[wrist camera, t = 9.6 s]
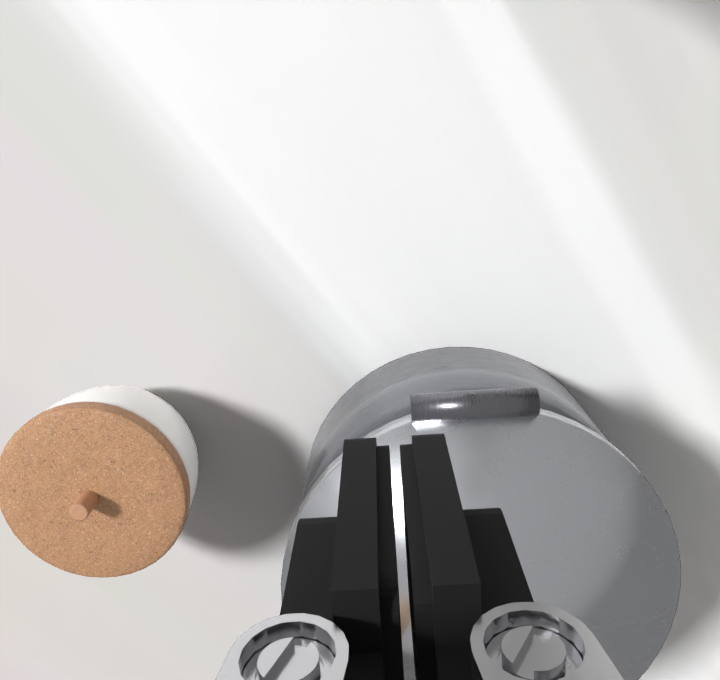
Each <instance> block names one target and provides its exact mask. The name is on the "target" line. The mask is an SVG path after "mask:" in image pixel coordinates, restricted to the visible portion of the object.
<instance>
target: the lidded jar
mask: <svg viewBox="0 0 720 680" xmlns="http://www.w3.org/2000/svg"><path fill="white" fill-rule="evenodd" d="M197 480H198V453H197V447H196V444H195V441H194V439H193V436H192V433H191V431H190V429H189V427H188V425H187V423H186V422H185V421H184V419H183V418H182V417H181V415H180V414H179V413H178V412H177V411H176V410H175V409H174V408H173V407H172V406H171V405H170V404H168V403H167V402H166V401H164V400H163V399H162V398H160V397H158V396H156V395H154V394H152V393H150V392H147V391H145V390H142V389H139V388H134V387H130V386H118V385H109V386H98V387H94V388H90V389H86V390H83V391H80V392H77V393H75V394H73V395H70V396H68V397H66V398H64V399H62V400H60V401H59V402H57V403H55V404H54V405H52V406H51V407H49V408H48V409H46V410H45V411H43V412H42V413H40V414H39V415H37V416H35V417H34V418H32V419H31V420H29V421H28V422H27V423H26V424H24V425H23V426H22V427H21V428H20V429H19V430H18V431H17V432H16V433H15V434H14V435H13V436H12V438H11V439H10V440H9V442H8V443H7V444H6V446H5V448H4V450H3V452H2V454H1V457H0V508H1V511H2V513H3V515H4V517H5V519H6V522H7V523H8V525H9V527H10V528H11V530H12V531H13V533H14V534H15V536H16V537H17V538H18V539H19V540H20V541H21V542H22V543H23V545H25V546H26V547H27V548H28V549H29V550H30V551H31V552H32V553H33V554H35V555H36V556H38V557H39V558H41V559H42V560H44V561H45V562H47V563H49V564H51V565H53V566H55V567H57V568H59V569H61V570H64V571H67V572H70V573H74V574H78V575H83V576H87V577H117V576H122V575H126V574H131V573H134V572H136V571H139V570H142V569H144V568H146V567H148V566H149V565H151V564H153V563H155V562H156V561H157V560H158V559H160V558H161V557H162V556H163V555H165V554H166V553H167V551H168V550H169V549H170V548H171V547H172V546H173V545H174V543H175V541H176V540H177V538H178V536H179V535H180V533H181V531H182V529H183V526H184V524H185V521H186V518H187V516H188V511H189V509H190V506H191V503H192V501H193V498H194V495H195V490H196V485H197Z"/></svg>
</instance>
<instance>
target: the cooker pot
mask: <svg viewBox="0 0 720 680" xmlns="http://www.w3.org/2000/svg"><path fill="white" fill-rule="evenodd" d="M532 386H536V387H537V389H538V392H539V397H540V409H543V410H547V411H551V412H554V413H557V414H559V415H562V416H564V417H567V418H569V419H572V420H574V421H577V422H578V423H580V424H582V425H584V426H586V427H587V428H589V429H591V430H593V431H594V432H596V433H598V434H599V435H601V436H602V437H603V438H605V436H604V435H603V434H602V432H601V431H600V430H599V429H598V427H597V426H596V425H595V423H594V422H593V421H592V420H591V418H590V417H589V416H588V414H587V413H586V412H585V411H584V409H583V408H582V407H581V405H580V404H579V403H578V402H577V400H576V399H575V398H574V397H573V396H572V395H571V393H570V392H569V391H568V390H567V389H566V388H565V387H564V386H563V385H562V384H561V383H559V382H558V381H557V380H555V379H554V378H553V377H552V376H550V375H549V374H548V373H546V372H545V371H543V370H541V369H540V368H538V367H536V366H534V365H533V364H531V363H529V362H527V361H524V360H522V359H519V358H517V357H514V356H512V355H509V354H505V353H502V352H498V351H494V350H490V349H482V348H474V347H445V348H437V349H429V350H425V351H421V352H417V353H413V354H409V355H406V356H404V357H401V358H399V359H396V360H394V361H391V362H389V363H387V364H385V365H383V366H381V367H380V368H378V369H376V370H374V371H372V372H371V373H369V374H368V375H367V376H365V377H364V378H363V379H361V380H360V381H358V382H357V383H356V384H355V385H354V386H352V387H351V388H350V389H349V390H348V391H347V392H346V393H345V394H344V395H343V396H342V397H341V398H340V399H339V401H338V402H337V403H336V404H335V406H334V407H333V408H332V409H331V411H330V412H329V414H328V415H327V417H326V419H325V420H324V422H323V424H322V425H321V427H320V429H319V431H318V434H317V436H316V439H315V441H314V443H313V446H312V450H311V454H310V458H309V462H308V467H307V472H306V477H305V482H304V488H303V493H302V498H301V503H300V505H301V504H302V502H303V500H304V499H305V497H306V495H307V494H308V492H309V490H310V489H311V487H312V486H313V484H314V483H315V482H316V480H317V479H318V478H319V477H320V476H321V474H322V473H323V472H324V471H325V470H326V468H327V467H328V466H329V465H330V464H331V463H332V462H333V461H334V460H335V459H336V458H338V457H339V456H340V455H341V454H342V453H343V444H344V439H359V438H363V437H364V436H366V435H367V434H369V433H370V432H372V431H374V430H376V429H378V428H380V427H382V426H384V425H386V424H387V423H389V422H391V421H394V420H396V419H399V418H401V417H404V416H407V415H409V414H411V410H410V394H418V393H434V392H451V391H467V390H483V389H500V388H516V387H532ZM605 439H606V438H605ZM606 440H607V439H606ZM607 441H608V440H607Z"/></svg>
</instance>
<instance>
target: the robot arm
mask: <svg viewBox="0 0 720 680" xmlns="http://www.w3.org/2000/svg"><path fill="white" fill-rule="evenodd" d="M400 461H401V477H402V494H403V510H404V527H405V543H406V560H407V576H408V592H409V605H410V618H411V630H412V642H413V655H414V667H415V679H416V680H624V679H623V677H622V676H621V675H620V673H619V672H618V670H617V669H616V667H615V666H614V664H613V663H612V661H611V660H610V658H609V657H608V655H607V654H606V652H605V651H604V649H603V648H602V646H601V645H600V643H599V642H598V640H597V639H596V637H595V636H594V634H593V633H592V632H591V631H590V630H589V629H588V627H587V626H586V625H585V624H584V623H583V622H582V621H581V620H579V619H578V618H576V617H574V616H573V615H571V614H570V613H568V612H567V611H564V610H561V609H559V608H556V607H553V606H550V605H547V604H540V603H534V601H533V598H532V595H531V592H530V589H529V586H528V584H527V581H526V578H525V575H524V572H523V569H522V566H521V564H520V561H519V558H518V555H517V552H516V549H515V546H514V544H513V541H512V538H511V535H510V532H509V529H508V526H507V524H506V521H505V518H504V515H503V512H502V510H501V508H483V509H465V510H463V508H462V504H461V500H460V496H459V492H458V488H457V484H456V480H455V475H454V471H453V467H452V463H451V459H450V455H449V451H448V447H447V443H446V439H445V435H444V433H443V434H426V435H412V444H402V445H400ZM215 680H404V668H403V652H402V635H401V619H400V602H399V586H398V571H397V556H396V541H395V525H394V510H393V495H392V479H391V464H390V449H389V445H385V446H377V441H376V438H359V439H344V444H343V455H342V466H341V477H340V488H339V499H338V510H337V517H319V518H301V519H299V520H298V524H297V528H296V534H295V539H294V544H293V549H292V554H291V560H290V565H289V570H288V575H287V581H286V586H285V591H284V596H283V601H282V607H281V612H280V616H276V617H272V618H268V619H266V620H264V621H262V622H260V623H258V624H256V625H254V626H252V627H250V628H249V629H248V630H247V631H246V632H244V633H243V634H242V635H241V636H240V637H238V638H237V640H236V641H235V643H234V644H233V646H232V647H231V649H230V650H229V652H228V654H227V656H226V658H225V660H224V662H223V664H222V666H221V668H220V670H219V673H218V675H217V677H216V679H215Z"/></svg>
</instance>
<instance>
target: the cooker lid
mask: <svg viewBox="0 0 720 680" xmlns="http://www.w3.org/2000/svg"><path fill="white" fill-rule="evenodd" d="M410 410H411V414H409V415H407V416H404V417H401V418H399V419H396V420H394V421H391V422H389V423H387V424H386V425H384V426H382V427H380V428H378V429H376V430H374V431H372V432H370V433H369V434H367V435H366V436H364V437H363V438H376V441H377V446H385V445H389V449H390V464H391V479H392V495H393V510H394V525H395V541H396V556H397V571H398V586H399V602H400V619H401V635H402V652H403V668H404V680H416V679H415V667H414V655H413V642H412V630H411V618H410V605H409V592H408V576H407V560H406V543H405V527H404V510H403V494H402V477H401V461H400V445H402V444H412V435H426V434H443V433H444V435H445V439H446V443H447V447H448V451H449V455H450V459H451V463H452V467H453V471H454V475H455V480H456V484H457V488H458V492H459V496H460V500H461V504H462V508H463V510H465V509H483V508H501V510H502V512H503V515H504V518H505V521H506V524H507V526H508V529H509V532H510V535H511V538H512V541H513V544H514V546H515V549H516V552H517V555H518V558H519V561H520V564H521V566H522V569H523V572H524V575H525V578H526V581H527V584H528V586H529V589H530V592H531V595H532V598H533V601H534V603H540V604H547V605H550V606H553V607H556V608H559V609H561V610H564V611H567V612H568V613H570V614H571V615H573V616H574V617H576V618H578V619H579V620H581V621H582V622H583V623H584V624H585V625H586V626H587V627H588V629H589V630H590V631H591V632H592V633H593V634H594V636H595V637H596V639H597V640H598V642H599V643H600V645H601V646H602V648H603V649H604V651H605V652H606V654H607V655H608V657H609V658H610V660H611V661H612V663H613V664H614V666H615V667H616V669H617V670H618V672H619V673H620V675H621V676H622V677H623V679H624V680H638V679H639V678H640V677H641V676H642V675H643V674H644V672H645V671H646V670H647V669H648V668H649V666H650V665H651V663H652V662H653V660H654V659H655V657H656V655H657V654H658V652H659V651H660V649H661V647H662V645H663V643H664V641H665V639H666V637H667V635H668V633H669V631H670V629H671V625H672V622H673V619H674V616H675V613H676V609H677V605H678V599H679V592H680V586H681V562H680V556H679V549H678V543H677V539H676V535H675V532H674V529H673V526H672V523H671V520H670V518H669V516H668V514H667V512H666V510H665V508H664V506H663V504H662V502H661V500H660V498H659V496H658V495H657V494H656V492H655V491H654V490H653V488H652V487H651V486H650V484H649V483H648V481H647V480H646V479H645V477H644V476H643V475H642V474H641V472H640V471H639V470H638V469H637V467H636V466H635V465H634V464H633V463H632V462H631V461H630V460H629V459H628V458H627V457H626V456H625V455H624V454H623V453H622V452H621V451H620V450H619V449H618V448H617V447H615V446H614V445H613V444H611V443H610V442H609V441H607V440H606V439H605V438H603V437H602V436H601V435H599V434H598V433H596V432H594V431H593V430H591V429H589V428H587V427H586V426H584V425H582V424H580V423H578V422H577V421H574V420H572V419H569V418H567V417H564V416H562V415H559V414H557V413H554V412H551V411H547V410H543V409H540V397H539V392H538V389H537V387H536V386H532V387H516V388H500V389H483V390H467V391H451V392H434V393H418V394H410ZM342 455H343V453H342V454H341V455H340V456H339V457H338V458H336V459H335V460H334V461H333V462H332V463H331V464H330V465H329V466H328V467H327V468H326V470H325V471H324V472H323V473H322V474H321V476H320V477H319V478H318V479H317V480H316V482H315V483H314V484H313V486H312V487H311V489H310V490H309V492H308V494H307V495H306V497H305V499H304V500H303V502H302V504H301V505H300V508H299V510H298V512H297V515H296V517H295V519H294V522H293V524H292V527H291V531H290V535H289V538H288V542H287V546H286V550H285V555H284V560H283V569H282V578H281V594H282V601H283V596H284V591H285V586H286V581H287V575H288V570H289V565H290V560H291V554H292V549H293V544H294V539H295V534H296V528H297V524H298V520H299V519H301V518H319V517H337V510H338V499H339V488H340V477H341V466H342Z"/></svg>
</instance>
